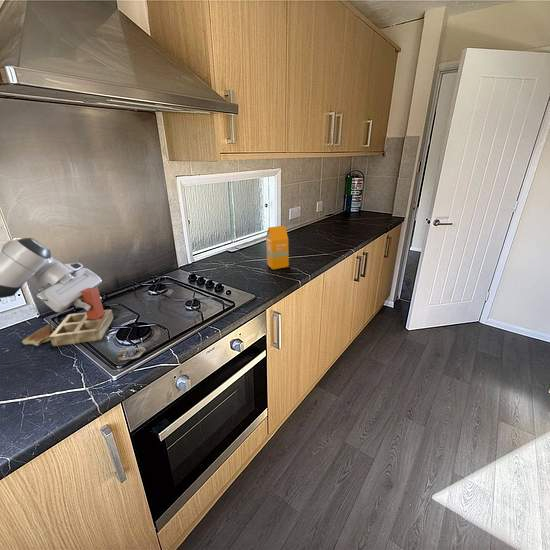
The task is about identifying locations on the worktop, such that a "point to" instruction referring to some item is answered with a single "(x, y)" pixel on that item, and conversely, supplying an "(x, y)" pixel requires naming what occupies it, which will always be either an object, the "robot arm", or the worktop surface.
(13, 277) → the robot arm
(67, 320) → the four-pane grid frame
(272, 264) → the orange juice
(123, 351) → the grey flat piece
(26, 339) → the shard
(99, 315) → the peg
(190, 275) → the worktop surface
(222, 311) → the worktop surface
